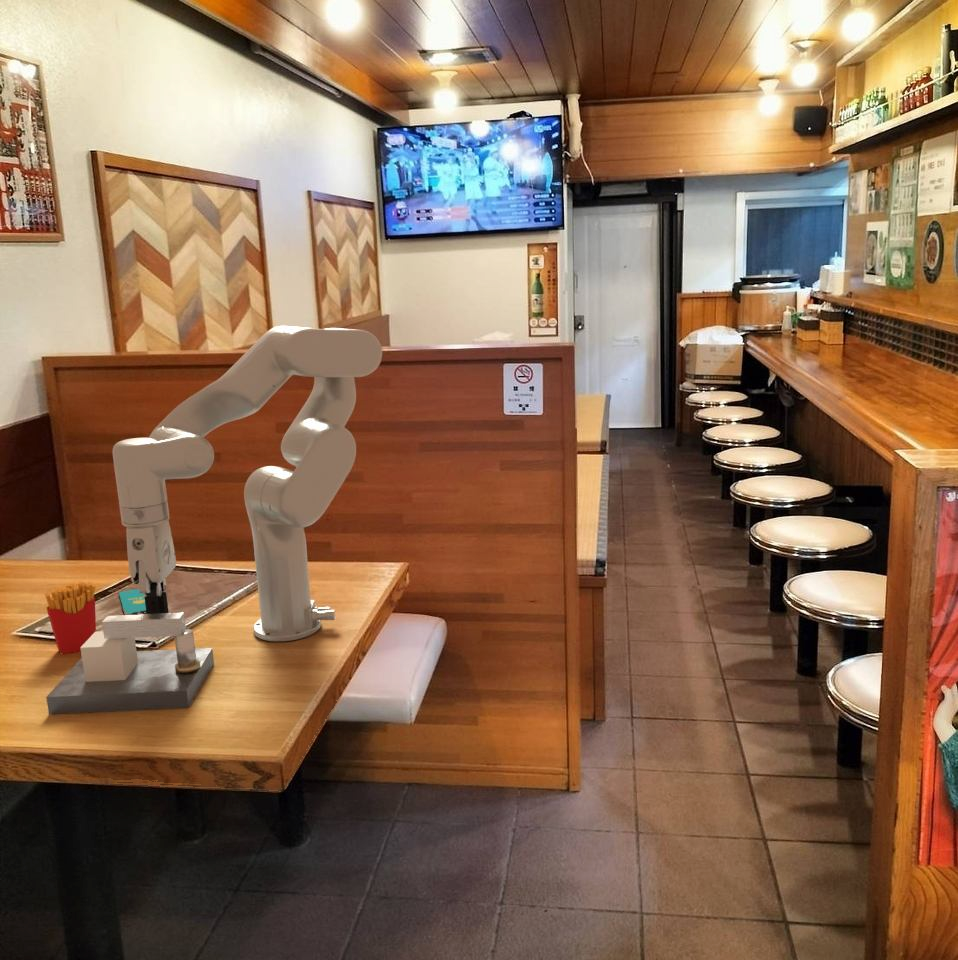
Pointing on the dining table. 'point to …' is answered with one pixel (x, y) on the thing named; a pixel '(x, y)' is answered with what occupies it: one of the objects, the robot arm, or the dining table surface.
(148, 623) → the white bent handle
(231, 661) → the dining table surface
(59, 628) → the french fries
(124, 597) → the smartphone
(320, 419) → the robot arm
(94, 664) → the cover cap
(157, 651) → the base plate
